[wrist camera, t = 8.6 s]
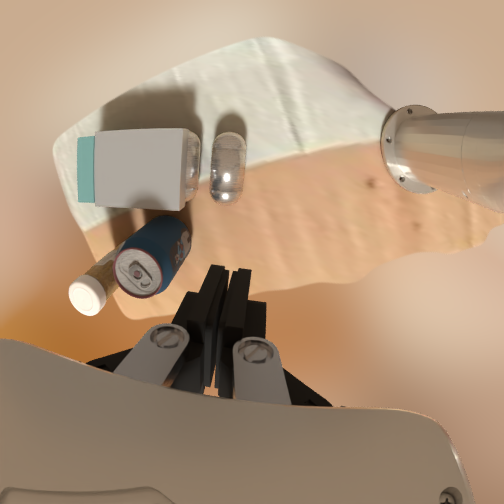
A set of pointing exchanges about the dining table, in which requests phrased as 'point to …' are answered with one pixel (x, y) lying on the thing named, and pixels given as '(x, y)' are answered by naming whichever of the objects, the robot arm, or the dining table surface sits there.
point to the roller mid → (192, 166)
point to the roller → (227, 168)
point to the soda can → (151, 257)
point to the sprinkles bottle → (94, 286)
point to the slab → (141, 168)
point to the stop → (85, 169)
